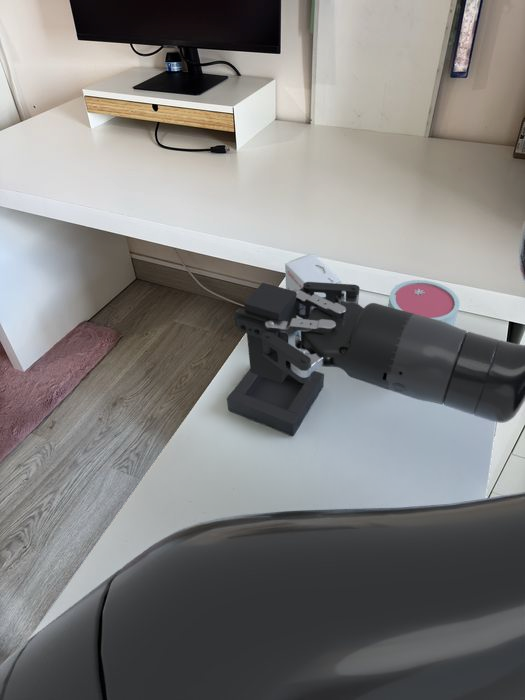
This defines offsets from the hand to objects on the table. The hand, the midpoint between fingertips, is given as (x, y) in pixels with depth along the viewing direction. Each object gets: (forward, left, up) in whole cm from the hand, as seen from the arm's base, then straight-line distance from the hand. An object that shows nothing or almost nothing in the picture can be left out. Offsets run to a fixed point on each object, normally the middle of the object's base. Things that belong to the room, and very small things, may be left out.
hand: (248, 305), depth 54 cm
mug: (+20, -15, -20) cm, 32 cm away
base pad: (+5, 0, -20) cm, 21 cm away
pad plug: (0, -3, -8) cm, 8 cm away
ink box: (+20, +1, -20) cm, 29 cm away
